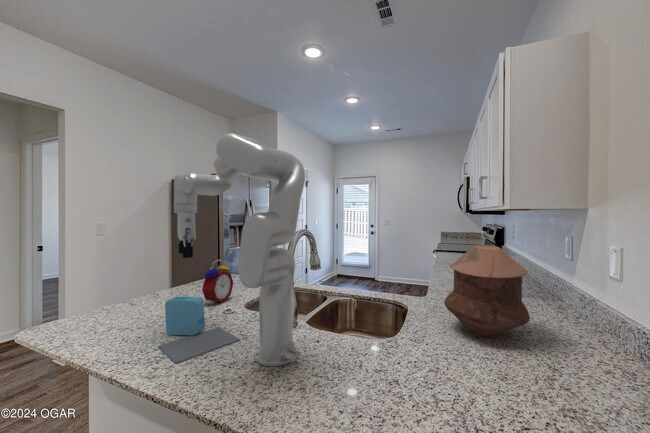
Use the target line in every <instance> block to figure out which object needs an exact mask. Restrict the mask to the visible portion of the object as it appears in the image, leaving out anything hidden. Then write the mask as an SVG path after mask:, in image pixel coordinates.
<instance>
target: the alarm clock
mask: <svg viewBox="0 0 650 433" xmlns="http://www.w3.org/2000/svg"><path fill="white" fill-rule="evenodd" d="M218 261H219V262H222V265H218V267H217V268H215V267H214V264H215V263H216V262H218ZM204 277H205V278H204V280H203V281H202V283H203V284H202V289H201V291H202V294H203V296H204V301H208V302H209V301H210V306H213V305H214V303H225V302H226V301H227V300H228V299H229V297H230V296H231V295H232V292H233V286H234V280H233V277H232V273H231V269H230V266H226V263H225V264H224V260H223V259H217V260H215V261H214V262H212V267H211V268H209V269H207V270H206V272H205V275H204Z"/></svg>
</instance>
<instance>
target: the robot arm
mask: <svg viewBox="0 0 650 433" xmlns="http://www.w3.org/2000/svg"><path fill="white" fill-rule="evenodd" d="M215 152H216V155H217V156H216V157H215V159H214V161H213V167H214V170H215V172H216V174H206V173H198V172H187V173H185V174H182V173H181V174H176V175H175V176H174V178H173V181H174V182H173V183H174V184H173V189H174V190H173V195H174V196H173V198H174V199H173V213H174V214H177V238H178V254H179V255H181V254H182V258H183V259H187V258H193V257H194V253H193V252H194V246H193V244H194V243H193V241H195V240H196V239H197V234H196V232H197V231H196V230H197V229H196V214H197V213H198V196H212V197H213V196H219V195H221V194H223V193H225V192H228V190H230V189H232V187H233V186H234V183H235V181H236V178H237V177H239V176H240V175H243V174H245V175H247V176H250V177H254V178H258V179H259V178H260V179H266V180H267V179H268V180H276V181H277V183H276V184H275V187H274V188H273V189H272V191H271V194H270V197H269V206H268V209H267V211H261V212H255V213H253V214H251V215H249V217H247V219H246V221H245V222H244V224H243V227H242V231H241V235H240V236H241V238H240V243H239V244H240V246H239V252H238V261H237V276H238V279H239V281H240V283H241V284H242V285H243V286H244V287H246V288H248V289H258V288H260V289H259V290H260V291H259V299H258V300H259V302H258V305H259V306H258V309H259V310H258V312H259V319H258V320H259V347H258V348H257V349H256V350H255V352H254V356H253V357H254V360H255V362H256V363H257V364H259V365H262V366H263V367H264V366H265V367H280V366H284V365H287V364H290V363H294V362H296V360H297V358H298V356H299V355H300V351H299V349H298V347H297V346H296V345H295V341H294V340H293V286H294V285H293V283H294V278H295V272H296V270H295V269H296V261H295V258H294V255H293V253H291V251H290V250H288V249H286V248H282V247H279V246H284V245H286V244H289V243H291V242H292V241H293V240H294V238H295V235H296V230H297V227H298V226H297V225H298V220H299V211H300V204H301V198H302V194H303V189H304V187H305V181H306V172H305V168H304V165H303V163H302V162H301V161H300V160H299V159H298V157H296V156H295V155H293V154H291V153H289V152H287V151H284V150H281V149H275V148H272V147H268V146H264V145H262V144H261V143H260V142H259V141H258V140H256V139H255V138H254V139H253V138H251V137H248V136H243V135H241V134H238V133H237V134H236V133H234V132H233V133H232V132H231V133H226V134H224V135H222V136H221V137H220V138H219V139H218V140H217V142H216V147H215ZM273 247H274V248H273Z"/></svg>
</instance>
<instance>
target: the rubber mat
mask: <svg viewBox="0 0 650 433" xmlns="http://www.w3.org/2000/svg"><path fill="white" fill-rule="evenodd" d="M240 341H241V339H240V338H239V337H237V336H235V335H234V334H232V333H230V332H228V331H226V330H225V329H224V328H221V327H220V326H217V327H214V328H211V329H207V330H204V331H201V332H199V333H198V334H196V335H187V336H185V337H182V338H178V339H175V340H172V341H169V342H165V343H162V344H159V345H157V348H158V349H159V350H160V351H161V352H162V353H164V355H165V356H167V357H168V358H169V360H171V361H172V363H174V365H177V364H180V363H183V362H185V361H188V360H190V359H194V358H196V357H199V356H202V355H204V354H207V353H209V352H213V351H215V350H219V349H220V348H223V346H224V347H226V346H229V345H231V344H234V343H237V342H240Z"/></svg>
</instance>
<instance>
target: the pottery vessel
mask: <svg viewBox="0 0 650 433" xmlns="http://www.w3.org/2000/svg"><path fill="white" fill-rule="evenodd" d="M449 267H451V269H452V270H453V290H452V291H451V292H450V293H448V295H447V296H446V297H445V299H444V302H443V303H444V306H445V308H446V309H447V311H449V312H450V313H451V314H452V315H454V317H455V318H457V320H458V321H459V322H460V323H461V324H463V325H464V327H465V328H466V329H467V331H468V332H469V333H471V334H473V335H475V336H478V337H483V338H495V337H497V336H499V334H502V333H504V332H507V331H510V330H513V329H516V328H519V327H521V326H522V327H523V326H524V325H527V324H528V323H529V322H530V318H531V316H530V313H529V311H528V309H527V306H526V305H525V304H524V302H523V301H522V299H523V277H525V276H526V275H527V274H528V269H527V268H525V267H523V266H522V265H521V264H519V263H518V262H517V261H516V260H514V259H513V258H512V257H511V256H510V255H509V254H508V253H507V252H506V251H504V250H503V248H501V247H499V246H497V245H487V244H475V245H473V246H472V247H471V248H469V249H468V250H467V251H466V252H465V253H464V254H463V255H462V256H460V257H459V258H458V259H457V260H456V261H454V262H453V263H451V264H450V265H449Z"/></svg>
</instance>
